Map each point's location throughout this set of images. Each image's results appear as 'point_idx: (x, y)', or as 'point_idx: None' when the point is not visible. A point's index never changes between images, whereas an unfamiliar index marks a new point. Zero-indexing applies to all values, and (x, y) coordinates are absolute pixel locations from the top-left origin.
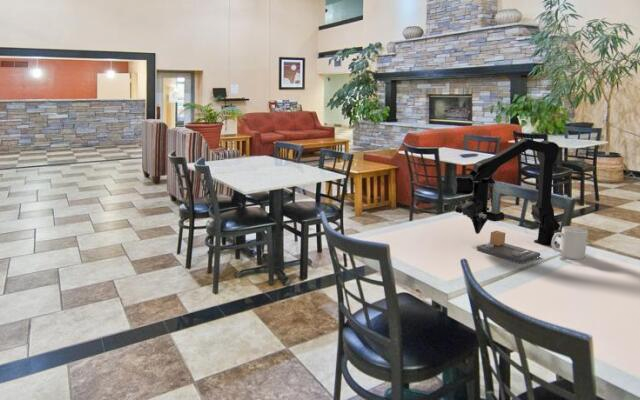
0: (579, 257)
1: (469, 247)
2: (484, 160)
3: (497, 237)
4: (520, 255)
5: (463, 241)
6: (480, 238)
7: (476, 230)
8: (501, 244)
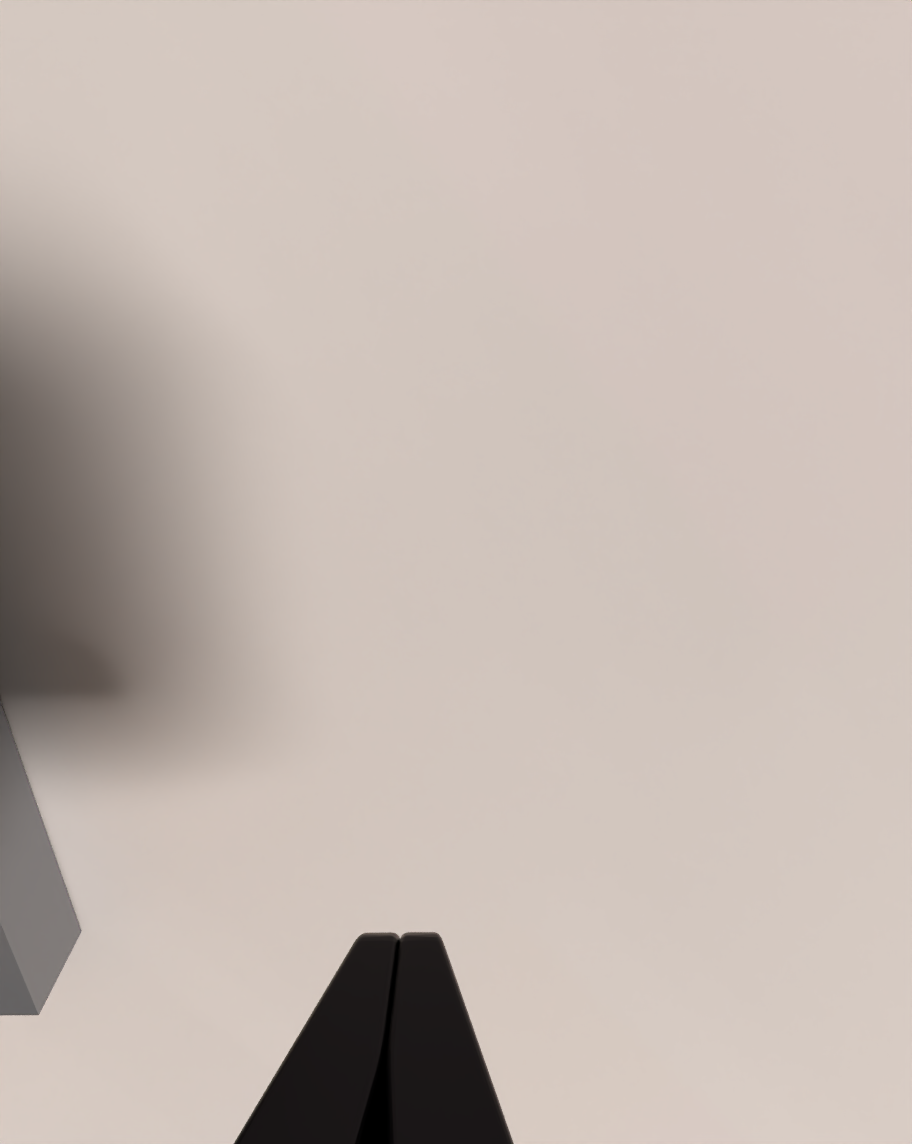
0: None
1: (167, 156)
2: None
3: None
4: None
5: (714, 527)
6: (572, 993)
7: (386, 1041)
8: None
